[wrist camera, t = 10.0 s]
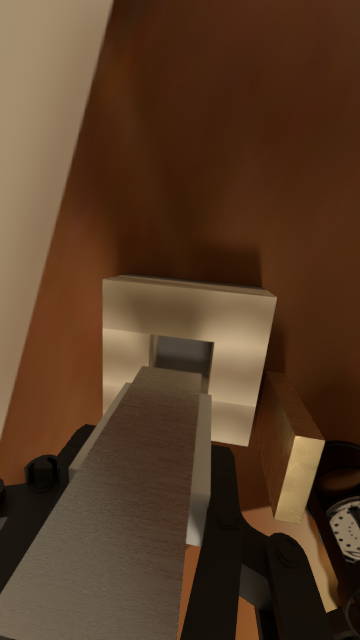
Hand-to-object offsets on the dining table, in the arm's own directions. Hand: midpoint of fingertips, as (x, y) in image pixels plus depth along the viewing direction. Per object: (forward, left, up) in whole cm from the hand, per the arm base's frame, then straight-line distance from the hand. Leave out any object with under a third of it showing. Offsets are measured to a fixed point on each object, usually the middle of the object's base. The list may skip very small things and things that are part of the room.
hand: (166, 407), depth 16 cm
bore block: (0, 0, -12) cm, 12 cm away
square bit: (0, 0, -1) cm, 1 cm away
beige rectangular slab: (-6, -10, -12) cm, 17 cm away
